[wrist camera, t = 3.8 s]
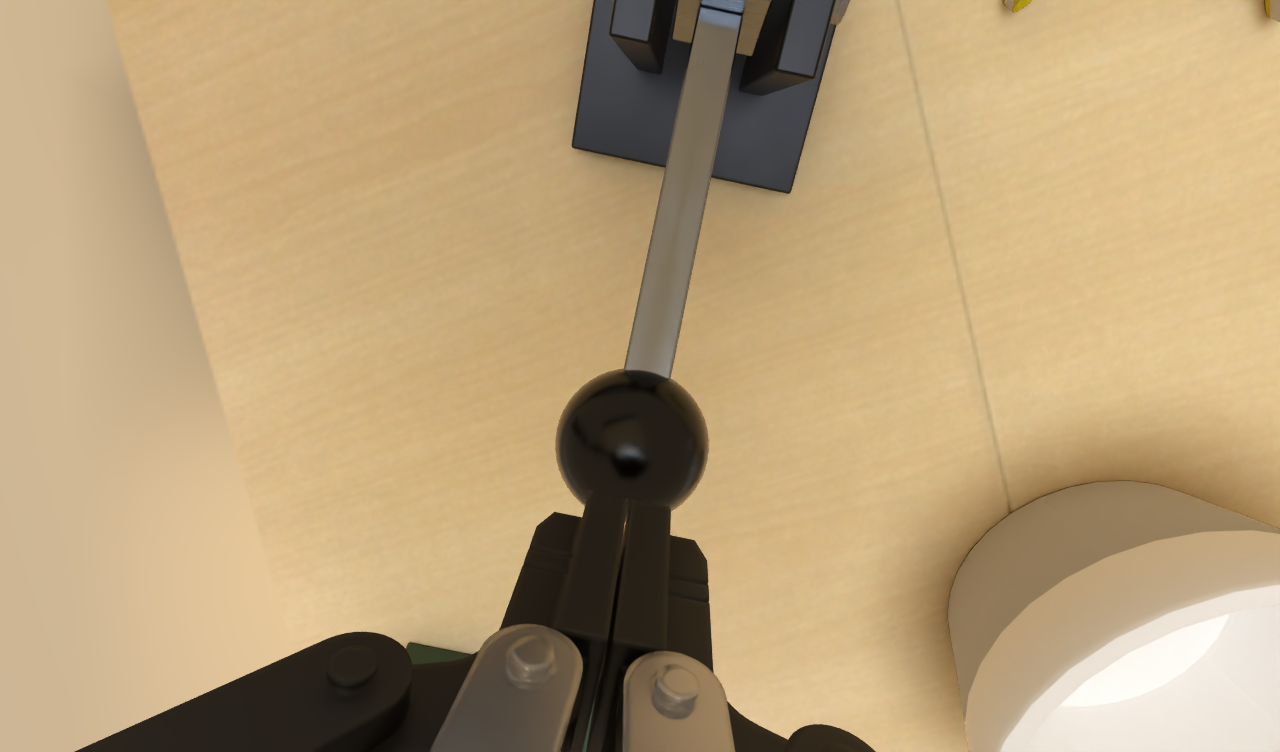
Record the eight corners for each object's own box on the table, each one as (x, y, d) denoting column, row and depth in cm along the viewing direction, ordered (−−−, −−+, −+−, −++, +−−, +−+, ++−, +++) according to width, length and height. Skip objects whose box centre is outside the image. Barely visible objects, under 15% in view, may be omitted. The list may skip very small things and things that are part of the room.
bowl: (1042, 366, 30) (1224, 488, 20) (1389, 526, 32) (1714, 711, 22) (828, 665, 37) (884, 869, 27) (1125, 783, 38) (1282, 1016, 28)
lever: (684, 523, 18) (701, 549, 14) (549, 496, 17) (531, 515, 14) (791, -22, 19) (833, -127, 15) (664, -49, 19) (675, -162, 15)
